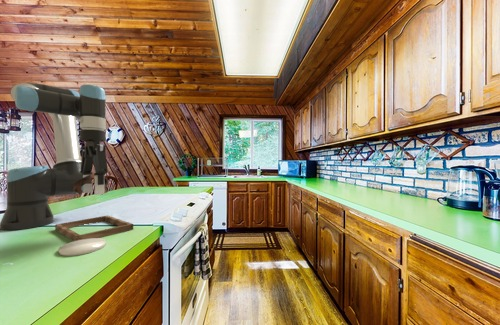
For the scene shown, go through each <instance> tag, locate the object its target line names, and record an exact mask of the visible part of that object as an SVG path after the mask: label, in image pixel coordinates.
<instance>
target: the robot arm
mask: <svg viewBox="0 0 500 325" xmlns="http://www.w3.org/2000/svg"><path fill="white" fill-rule="evenodd" d="M10 97H11V99H12V100H14V104H15V107H16V109H18V110H24V111H28V112H37V113H44V114H48V115H49V117H51V118H52V122H53V123H52V125H53V133H54V134H53V135H54V144H55V145H54V146H55V154H56V163H55V164H53V165H52V168H49V166H48V165H35V166H26V167H25V166H24V167H17V168H12V169H10V170H8V172H7V175H6V181H5V183H6V190H7V191H6V208H5V211H4V213H3V216H2V218H1V220H0V230H3V231H16V230H18V231H19V230H26V229H27V230H28V229H32V228H33V229H34V228H37V227H42V226H46V225H49V224H52V223H53V222H55V221H54V219H55V218H54V217H55V216H54V214H53V212H52V210H51V208H50V205H49V197H59V196H70V195H79V194H78V193H77V192H74V191H73V188H74V187H73V186H72V184H73V183H75V182H76V181H78V180H80V179H82V178H84V177H86V176H88V175H90V174H94V176H95V182H94V180H92V181H91V182H92V184H84V185H83V186H82V191H83V192H82V193H81V194H87V193H88V194H89V193H93V192H94V195H95V196H97V195H98V196H99V195H101V194H103V195H105V194H104V177H105V175H106V174H109V173H108V170H109V169H108V163H107V152H106V149H107V148H106V147H107V146H106V144H101V143H105V142H106V139H107V138H106V136H107V133H106V130H107V120H106V100H107V97H106V91H105V89H104V88H102V87H100V86H98V85H95V84H82V85H80V87H79V92H78V91H76V90H72V89H69V88H63V87H57V86H53V85H48V84H42V83H37V82H19V83H17V84H14V85H13V86H12V87H11V88H10ZM77 121H78V123H79V127H80V130H79V135H78V127H77V126H78V125H77ZM79 140H80V141H82V142H85V146H81V151H80V143H79ZM93 167H94V171H95V172H93ZM93 183H94V184H93ZM93 185H94V186H93ZM93 187H94V190H93ZM101 196H102V195H101Z"/></svg>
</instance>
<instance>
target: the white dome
mask: <svg viewBox="0 0 500 325" xmlns="http://www.w3.org/2000/svg"><path fill="white" fill-rule="evenodd" d="M106 245H107V243H106V239H105V238H102V237H100V238H90V239H82V240H78V241H73V240H72V241H71V242H68V243H65V244H62V245H61V246H59V248H58V255H61V256H63V257H65V256H66V257H75V256H81V255H86V254H91V253H94V252H96V251H99V250H102V249H103V248H104V247H106Z"/></svg>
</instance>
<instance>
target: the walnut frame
mask: <svg viewBox="0 0 500 325" xmlns="http://www.w3.org/2000/svg"><path fill="white" fill-rule="evenodd" d="M101 221H103V222H106V221H107V223H109V222H110V223H109V224H112V223H113V225H115V227H109V228H104V229H101V230H96V231H91V232H87V233H83V234H79V233H78V232H75V231H74V230H72V229H71V228H76V227H80V226H79V225H83V226H85V225H84V224H88V225H90V224H89V223H93V224H97V223H96V222H98V223H102V222H101ZM54 228H55V231H57V232H58V233H60V234H61V235H63V236H64V237H66V238H68V239H70V240H71V241H72V242H73V241H78V240H82V239H90V238H102V237H108V236H111V235H117V234H120V233H125V232H129V231H133V230H134V223H132V222H129V221H125V220H122V219H119V218H116V217H113V216H109V215H101V216H95V217H91V218H86V219H85V218H83V219H80V220H75V221H73V220H72V221H68V222H62V223H58V224H57V223H56V224H55V227H54Z"/></svg>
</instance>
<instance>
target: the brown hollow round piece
mask: <svg viewBox="0 0 500 325" xmlns="http://www.w3.org/2000/svg"><path fill="white" fill-rule="evenodd" d="M91 181H93V183H95V176H94V173H93V174H90V175H88V176H86V177H84V178H82V179H80V180H78V181H76V182H75V183H73V184H72V186H73V187H74V188H73V191H74V192H77V193H78V194H77V195H81V194H83V193H82V192H83V191H82V186H83V185H84V184H92V182H91ZM108 184H109V180H108V178H107V177H106V176H104V194H101V196H103V195H105V194H106V193H108V192H109V191H108V188H107V186H108Z"/></svg>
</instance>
